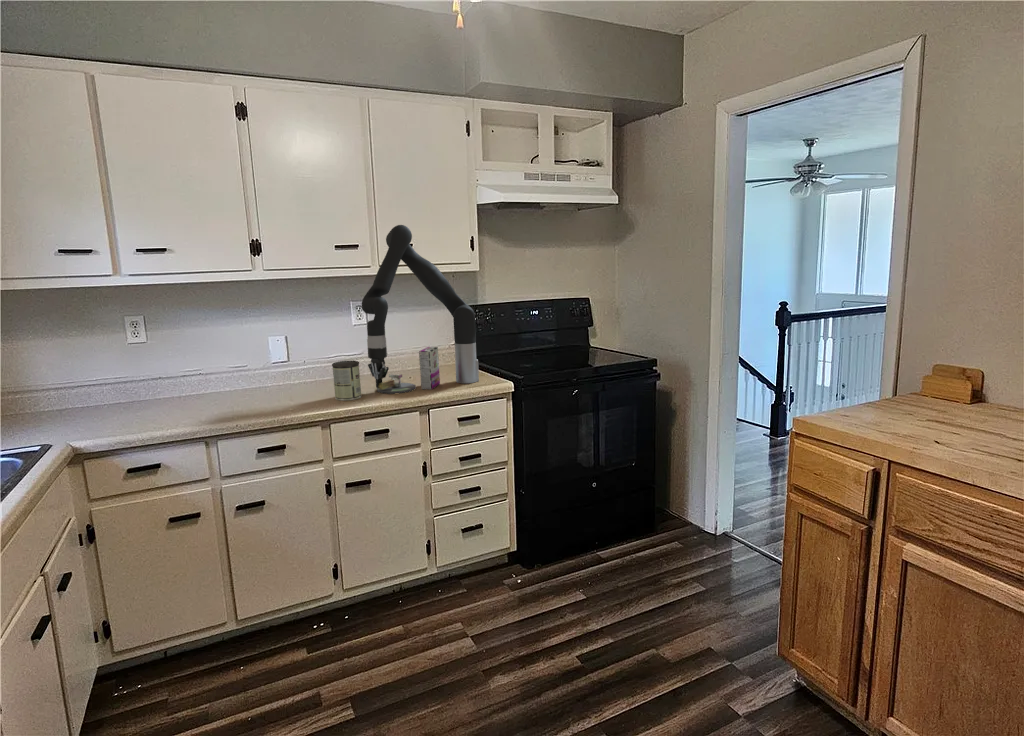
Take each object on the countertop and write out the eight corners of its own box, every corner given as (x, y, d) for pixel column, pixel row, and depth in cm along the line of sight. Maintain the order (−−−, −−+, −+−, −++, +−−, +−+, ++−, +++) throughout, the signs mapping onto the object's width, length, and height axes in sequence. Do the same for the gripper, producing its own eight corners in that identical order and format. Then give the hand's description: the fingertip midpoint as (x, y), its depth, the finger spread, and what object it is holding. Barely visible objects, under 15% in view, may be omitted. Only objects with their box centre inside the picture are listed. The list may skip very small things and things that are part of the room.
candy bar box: (429, 383, 257) (427, 346, 253) (440, 383, 256) (438, 346, 252) (420, 389, 246) (418, 350, 243) (431, 389, 245) (429, 351, 242)
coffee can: (336, 395, 239) (333, 361, 236) (362, 393, 241) (360, 359, 238) (333, 401, 229) (330, 366, 226) (360, 400, 231) (357, 364, 228)
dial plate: (409, 383, 258) (409, 380, 257) (420, 390, 244) (420, 388, 243) (372, 387, 251) (372, 385, 250) (382, 395, 237) (382, 393, 236)
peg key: (394, 384, 250) (393, 372, 249) (404, 386, 247) (403, 373, 246) (374, 391, 239) (373, 378, 238) (384, 392, 237) (383, 379, 236)
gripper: (360, 345, 241) (363, 386, 244) (377, 349, 231) (379, 391, 235) (376, 343, 246) (379, 383, 249) (393, 346, 236) (395, 388, 240)
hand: (379, 387), depth 242 cm, fingers closed
